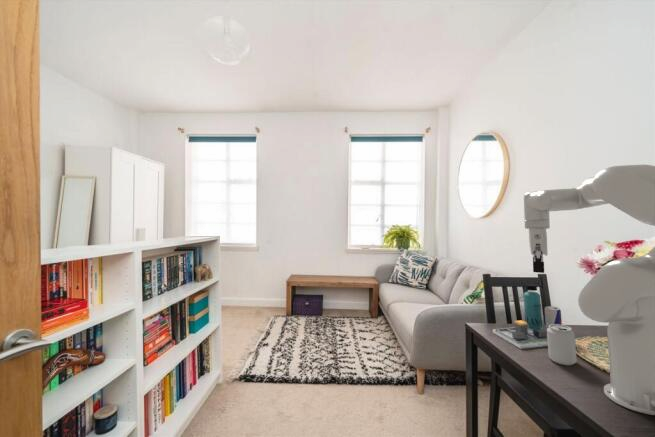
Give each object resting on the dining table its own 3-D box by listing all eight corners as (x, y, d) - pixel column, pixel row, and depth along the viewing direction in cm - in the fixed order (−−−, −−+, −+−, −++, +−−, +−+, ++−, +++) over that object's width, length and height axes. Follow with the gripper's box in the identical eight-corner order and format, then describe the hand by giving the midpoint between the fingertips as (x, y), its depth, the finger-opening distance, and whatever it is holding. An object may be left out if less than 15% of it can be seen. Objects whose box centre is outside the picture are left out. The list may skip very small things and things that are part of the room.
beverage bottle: (521, 329, 127) (518, 284, 127) (530, 325, 129) (527, 282, 130) (537, 333, 121) (534, 287, 121) (546, 330, 124) (543, 284, 124)
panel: (555, 345, 110) (554, 333, 110) (520, 348, 109) (519, 337, 109) (523, 329, 126) (522, 319, 126) (492, 332, 125) (492, 322, 125)
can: (564, 368, 94) (562, 332, 94) (543, 357, 101) (541, 324, 101) (582, 364, 95) (580, 329, 95) (560, 354, 103) (558, 321, 103)
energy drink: (566, 339, 114) (564, 309, 114) (552, 339, 114) (550, 310, 114) (555, 334, 120) (553, 305, 120) (543, 334, 120) (541, 306, 120)
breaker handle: (528, 335, 116) (527, 322, 116) (521, 336, 116) (520, 323, 116) (522, 332, 119) (521, 320, 119) (515, 333, 119) (514, 320, 119)
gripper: (550, 226, 97) (552, 275, 97) (548, 222, 110) (549, 265, 111) (524, 226, 101) (525, 273, 102) (525, 222, 115) (526, 264, 115)
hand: (538, 269), depth 106 cm, fingers open, 9 cm apart
